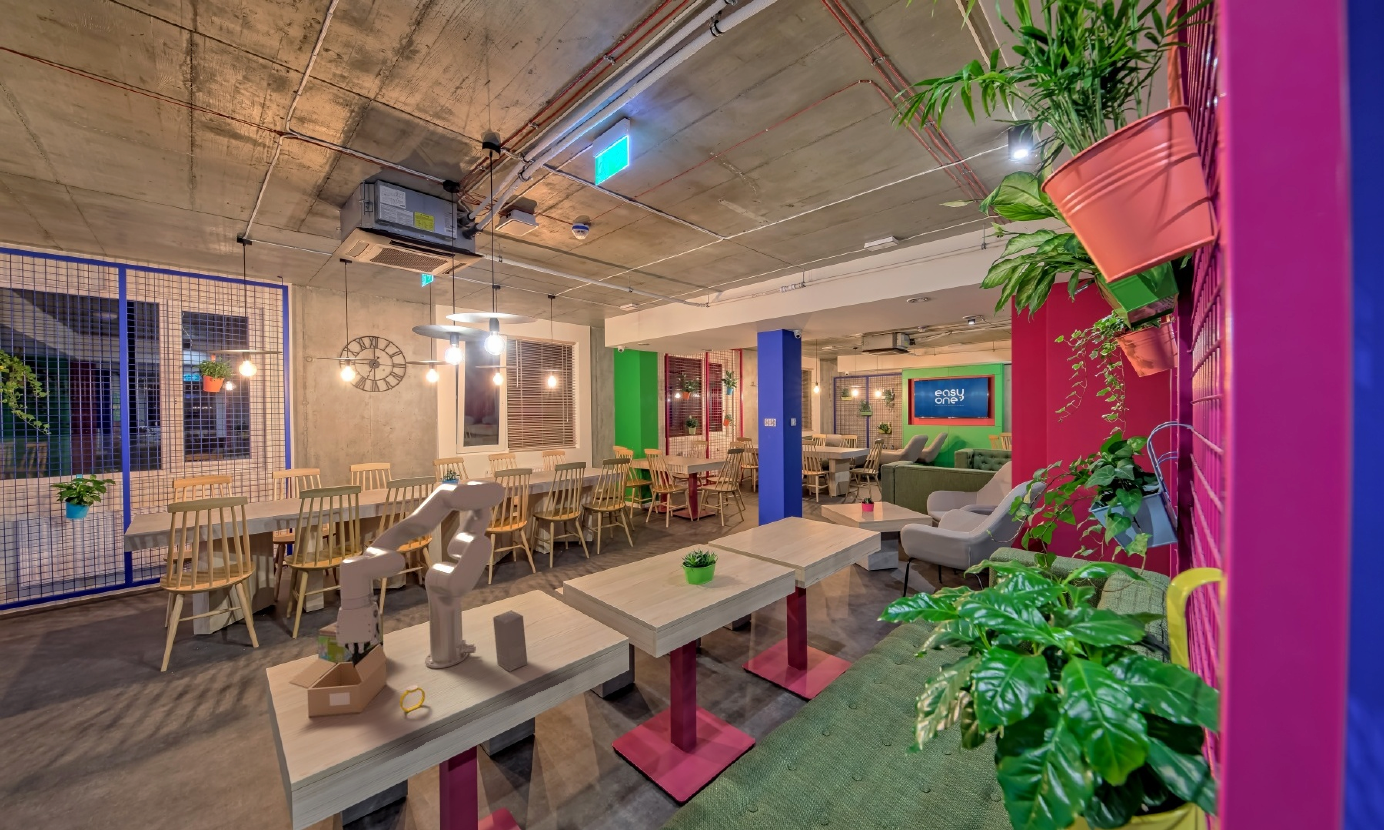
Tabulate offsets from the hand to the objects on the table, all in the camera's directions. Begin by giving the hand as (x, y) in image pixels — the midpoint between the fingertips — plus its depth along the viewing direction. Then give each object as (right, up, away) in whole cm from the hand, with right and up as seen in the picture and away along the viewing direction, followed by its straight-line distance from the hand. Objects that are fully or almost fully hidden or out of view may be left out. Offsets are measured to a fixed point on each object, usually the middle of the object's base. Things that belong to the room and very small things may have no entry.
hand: (359, 664), depth 140 cm
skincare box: (+37, -9, +17) cm, 41 cm away
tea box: (-15, -10, +19) cm, 26 cm away
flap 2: (+3, 0, 0) cm, 3 cm away
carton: (-3, -10, 0) cm, 10 cm away
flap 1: (-12, -1, -1) cm, 12 cm away
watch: (+18, -10, -5) cm, 21 cm away
